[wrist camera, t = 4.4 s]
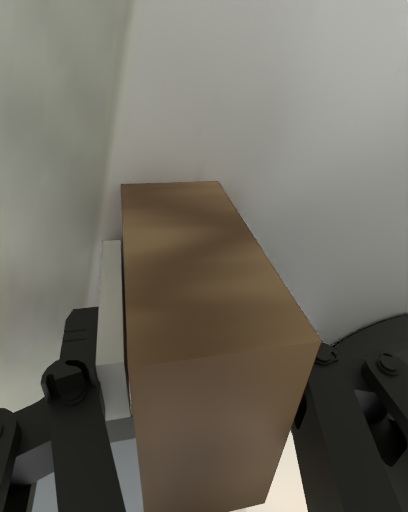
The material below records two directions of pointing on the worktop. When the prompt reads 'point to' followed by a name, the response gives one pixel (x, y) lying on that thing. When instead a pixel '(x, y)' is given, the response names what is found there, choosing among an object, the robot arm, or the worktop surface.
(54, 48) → the worktop surface
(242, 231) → the tall cardboard box
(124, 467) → the baseboard
